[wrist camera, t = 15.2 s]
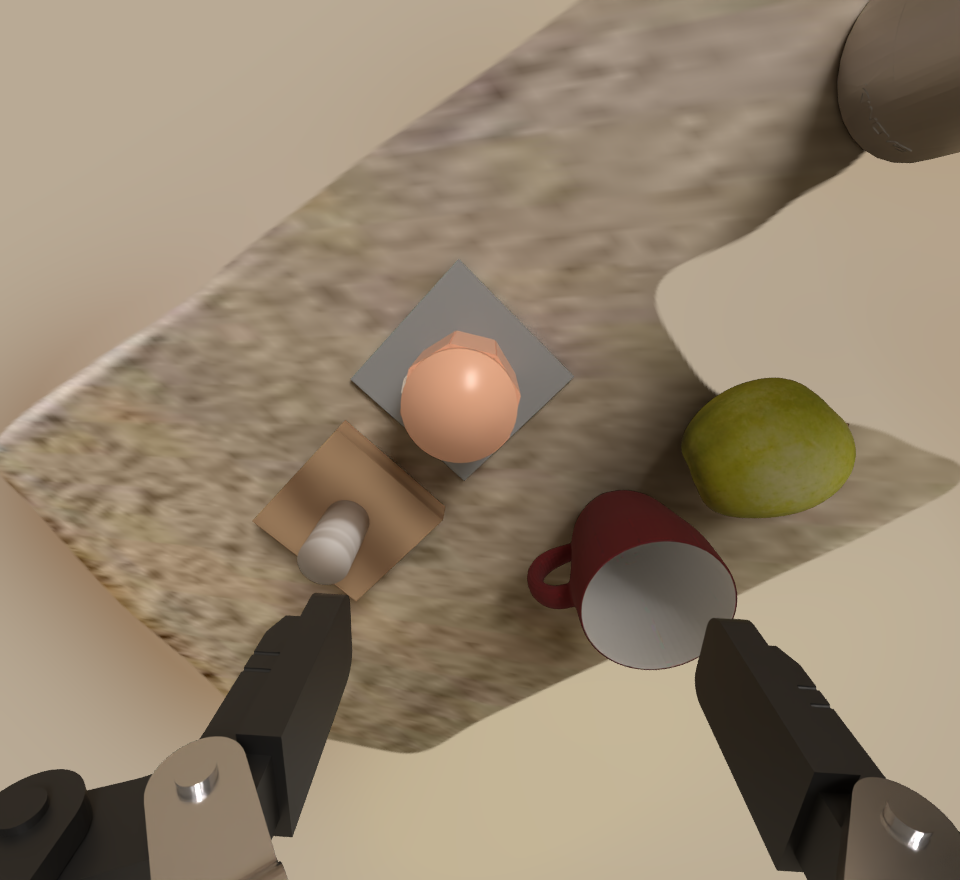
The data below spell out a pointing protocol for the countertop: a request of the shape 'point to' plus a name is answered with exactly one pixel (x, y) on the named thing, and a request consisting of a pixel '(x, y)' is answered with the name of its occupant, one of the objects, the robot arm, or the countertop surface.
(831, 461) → the apple
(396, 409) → the mat
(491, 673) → the countertop surface
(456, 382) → the cap
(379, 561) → the post block
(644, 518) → the mug
